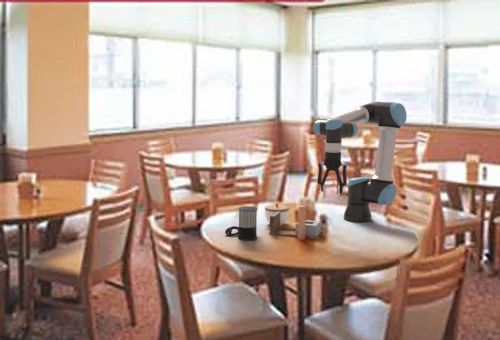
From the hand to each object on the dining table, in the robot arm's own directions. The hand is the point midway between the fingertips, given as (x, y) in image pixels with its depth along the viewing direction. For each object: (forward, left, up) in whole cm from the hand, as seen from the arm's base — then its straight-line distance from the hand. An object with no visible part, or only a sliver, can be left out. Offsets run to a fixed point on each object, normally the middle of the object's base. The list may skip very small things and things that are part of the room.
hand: (331, 198), depth 293 cm
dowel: (+12, +9, -19) cm, 24 cm away
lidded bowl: (+32, -16, -19) cm, 40 cm away
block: (+11, 0, -19) cm, 22 cm away
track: (+17, 0, -19) cm, 25 cm away
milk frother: (+40, +16, -19) cm, 47 cm away
